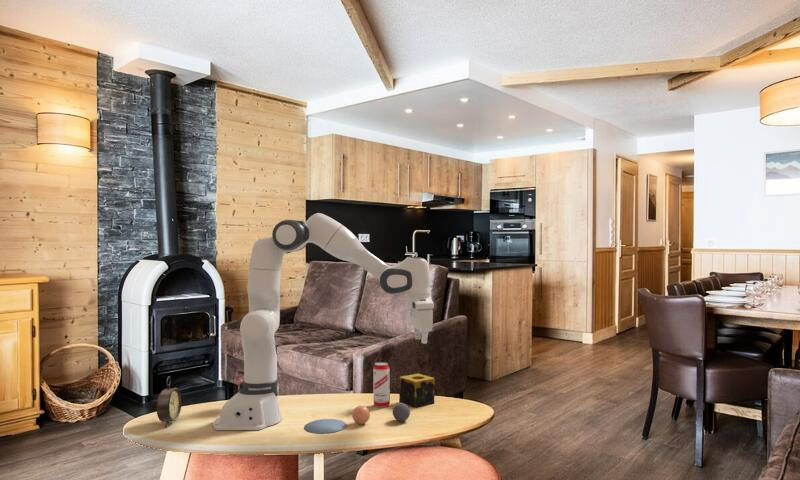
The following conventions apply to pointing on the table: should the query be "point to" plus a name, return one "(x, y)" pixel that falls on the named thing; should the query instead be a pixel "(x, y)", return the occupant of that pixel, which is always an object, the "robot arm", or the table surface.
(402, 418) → the gray ball
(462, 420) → the table surface
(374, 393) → the beer can
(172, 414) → the alarm clock
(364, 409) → the terracotta egg
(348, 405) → the table surface
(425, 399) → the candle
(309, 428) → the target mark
